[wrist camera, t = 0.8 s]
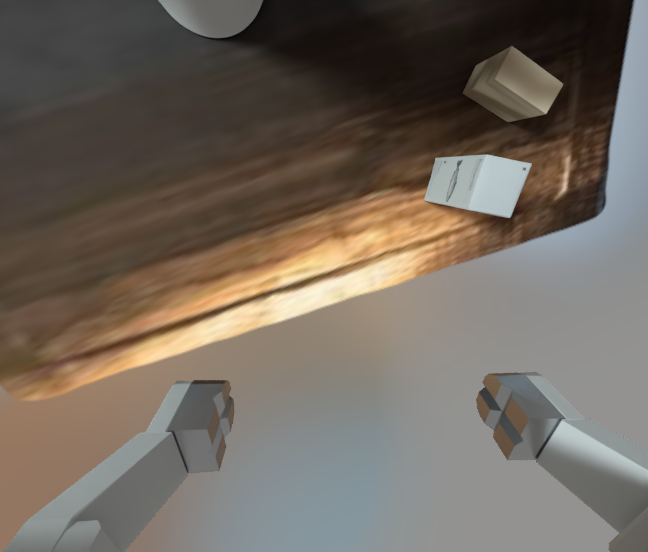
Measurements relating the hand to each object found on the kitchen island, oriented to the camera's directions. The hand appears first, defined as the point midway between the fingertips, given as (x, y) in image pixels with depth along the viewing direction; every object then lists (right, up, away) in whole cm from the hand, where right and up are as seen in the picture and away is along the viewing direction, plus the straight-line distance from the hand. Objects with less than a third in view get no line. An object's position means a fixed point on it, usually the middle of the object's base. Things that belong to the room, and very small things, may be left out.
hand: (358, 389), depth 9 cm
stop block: (+26, +33, +35) cm, 55 cm away
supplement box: (+21, +20, +39) cm, 48 cm away
